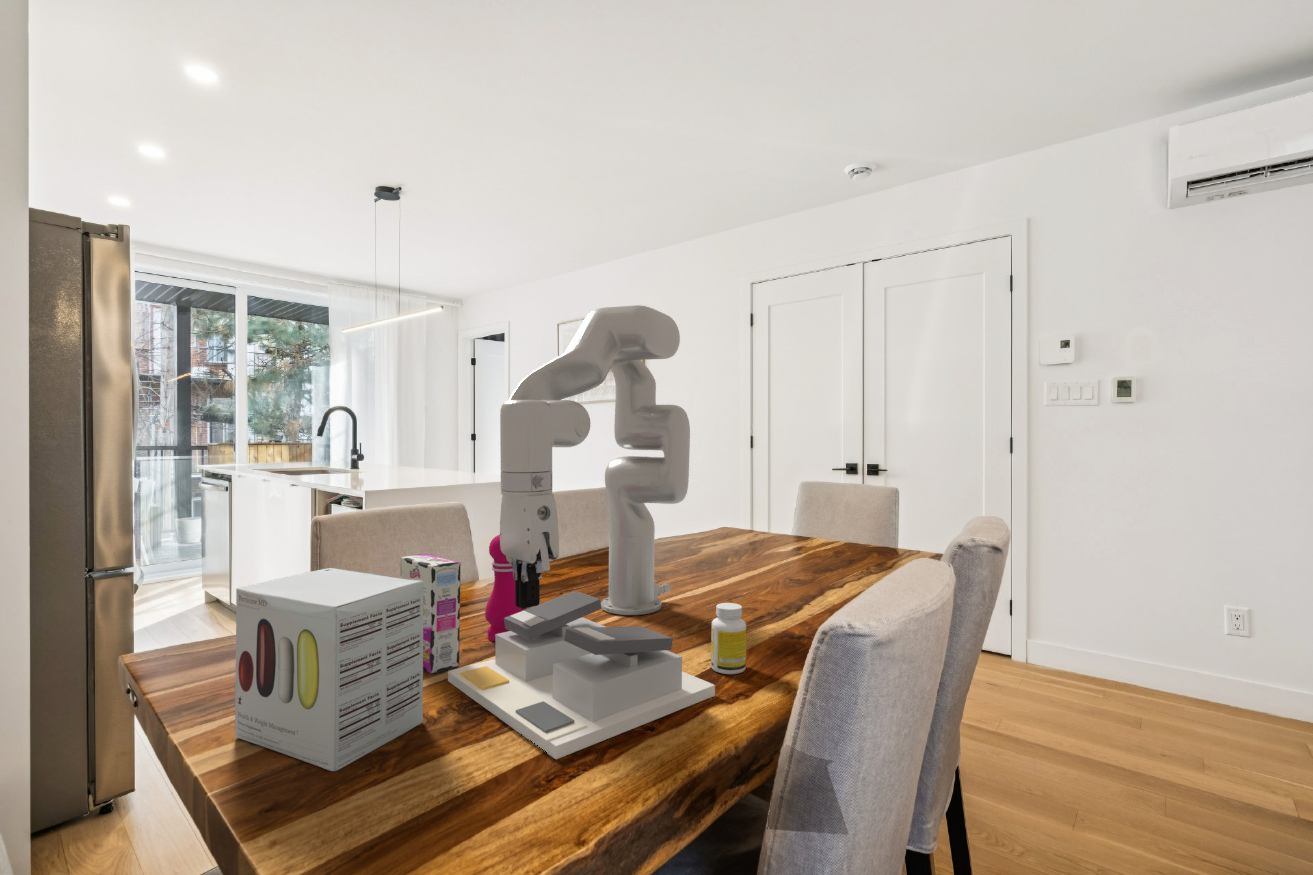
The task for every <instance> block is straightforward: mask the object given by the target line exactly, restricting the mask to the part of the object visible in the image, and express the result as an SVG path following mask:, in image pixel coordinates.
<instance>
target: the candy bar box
mask: <svg viewBox="0 0 1313 875" xmlns="http://www.w3.org/2000/svg"><path fill="white" fill-rule="evenodd" d="M400 578H407V579H413V580H421V581H423V583H424V585H423V671H426V672H427V673H430V674H431V675H432V674H436V673H440V672H444V671H449V670H453V669H454V668H455V669H456V668H459V666H460V633H461V631H460V628H461V627H460V626H461V624H460V622H461V620H460V618H461V614H460V612H461V562H460V561H456V560H453V559H449V558H445V557H442V556H438V555H435V554H429V553H420V554H411V555H406V556H401V557H400Z"/></svg>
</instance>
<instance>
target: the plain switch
mask: <svg viewBox="0 0 1313 875" xmlns="http://www.w3.org/2000/svg"><path fill="white" fill-rule="evenodd" d="M673 639H674V638H673V637H671V636H668V635H666V634H664V633H660V632H658V631H655V630H652V629H649V628H647V627H643V626H640V625H633V626H606V627H593V628H566V632H565V639H564V641H566V642H568V643H570V644H573V645H575V646H577V647H579V648H581V649H583V650H586V651H588V652H590V653H592V654H594V655H605V654H619V653H634V652H649V651H663V650H667V651H671V650H672V648H673V641H674V640H673Z"/></svg>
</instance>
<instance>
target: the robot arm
mask: <svg viewBox="0 0 1313 875" xmlns="http://www.w3.org/2000/svg"><path fill="white" fill-rule="evenodd" d="M680 343H681V335H680V331H679V327H678V325H677V323H676V321H675V320H674V319H673V317H672V316H669V315H668V314H666V313H663V312H661V311H659V310H657V309H654V308H652V307H650V306H647V305H641V304H639V305H635V304H634V305H624V306H607V307H599V308H596V309H594V310H592V311H591V312H589V313H588V314H587V315H586V316H585V317H584V319H583V321H582V323H581V324H580V326H579V327H578V329H577V331H576V332H575V334H574V335H573V337H572V339H571V340H570V342H569V344H568V345H567V347H566V349H565V350H564V352H563V353H562V354H561V355H558V356H557V357H555V358H554V359H551V360H550V361H548V362H547V363H545V364H543V365H542V366H540V367H538V368H537V369H535V370H533V371H532V372H531V373H530V374H528V375H527V376H526V377H524V378H523V379H522V380H521V381H520V382H519V383H518V384H517V386H516V388H514V390H513V392H512V393H511V395H510V396H509V398H508V399H507V401H505V402H503V403H502V405H501V407H500V412H499V416H500V418H499V419H500V420H499V422H500V423H499V426H500V427H499V428H500V430H499V431H500V432H499V433H500V437H499V438H500V442H499V443H500V494H501V495H502V496H501V504H500V518H499V519H500V520H499V535H500V547H501V551H502V553H503V554H505V555H506V559H507V561H508V562H510V563H511V564H512V566H513V577H514V579H518V580H515V605H516V606H517V607H519V608H521V609H525V608H526V609H528V608H531V607H534V606H538V605H539V604H541V603H540V602H541V601H540V600H541V599H540V589H541V588H540V586H541V585H540V580H541V579H542V576H543V574H542V573H547V572H549V571H550V570H551V567H550V566H551V565H550V560H551V561H555V560H557V559H558V558H559V556H560V538H559V537H560V535H559V534H560V533H559V520H558V511H557V503H556V499H555V494H554V493H553V448H572V447H575V446H578V445H580V444H582V443H583V442H584V441H585V440H586V438H587V437H588V435H589V433H590V430H591V418H590V414H589V411H587V409H586V408H585V407H584V405H582V404H581V403H579V402H578V401H575V400H569V399H567V398H571V397H573V396H577V395H580V394H584V393H586V392H589V391H591V390H593V389H595V388H598V387H599V386H600V385H601V384H603V383H604V381H605V380H606V378H607V376H608V375H609V373H610V370H611V372H612V375H613V378H614V382H615V404H614V407H615V408H614V426H613V427H614V431H613V432H614V439H615V442H616V444H617V445H618V446H619V447H620V448H622V449H625V450H629V451H630V450H632V451H633V450H634V451H662V453H663V457H661V456H660V457H658V456H641V455H639V456H635V455H634V456H633V455H632V456H631V455H628V456H626V455H625V456H619V457H617V458H615V459H612V460H611V461H610V462H609V463H608V465H607V467H606V468H605V471H604V484H605V491H606V496H607V503H608V518H609V520H608V523H609V524H608V526H609V527H608V529H609V530H608V531H609V532H608V597H605V598H603V600H601V608H602V609H601V610H603V611H605V612H607V613H608V614H614V615H620V616H641V615H647V614H652V613H655V612H656V613H657V612H658V611H659V610H660V609H662V601H661V600H660V598H659V596H661V594H667V593H670V592H671V591H672V588H671V585H670V584H669V583H663V584H658V583H656V582H655V532H656V530H655V529H656V528H655V527H656V526H655V521H654V518H653V516H652V513H651V512H650V510H649V509H648V508H647V506H646V505H645V504H664V505H673V504H675V505H676V504H679V503H681V502H683V501H684V500H685V498H686V496H687V494H688V489H689V476H690V449H691V448H690V446H691V444H690V443H691V428H690V427H691V426H690V421H689V420H690V419H689V415H688V414H687V411H686V410H685V409H684V408H683V407H682V406H679V405H675V404H657V403H656V402H657V401H656V397H657V394H656V392H657V389H656V388H657V382H656V379H655V377H654V375H653V373H652V372H651V370H650V369H649V368H648V366H647V365H646V364H645V363H644V362H643V360H644V361H646V360H666V359H670V358H672V357H674V356H675V355H676V353H677V352H678V349H679V347H680Z"/></svg>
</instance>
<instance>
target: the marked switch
mask: <svg viewBox="0 0 1313 875" xmlns="http://www.w3.org/2000/svg"><path fill="white" fill-rule="evenodd" d="M601 602H602V600H601V599H600V598H598V597H595V596H592V595H589V594H586V593H584V592H580V591H577V590H572V591H570V592H567V593H565V594H562V595H559V596H557V597H555V598H552V599H550V600H546V601H544V602H542V603H539V605H538V606H533V607H529V608H526V610H523V611H521V612H518V613H516V614H513V615H510V616H508V617H505V618H504V623H505V628H506V629H508V630H510V631H512V632H514V633H516V634H518V635H520V636H522V637H524V638H526V639H528V640H530V639H532V638H535V637H537V636H539V635H542V634H544V633H546V632H549V631H551V630H553V629H556V628H558V627H560V626H563V625H565V624H567V623H570V622H572V621H574V620H577V619H579V618H581V617H583V618H585V617H586V616H588V615H590V614H593V613H595V612H598V611H600V610H603V609H602V608H601Z"/></svg>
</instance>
